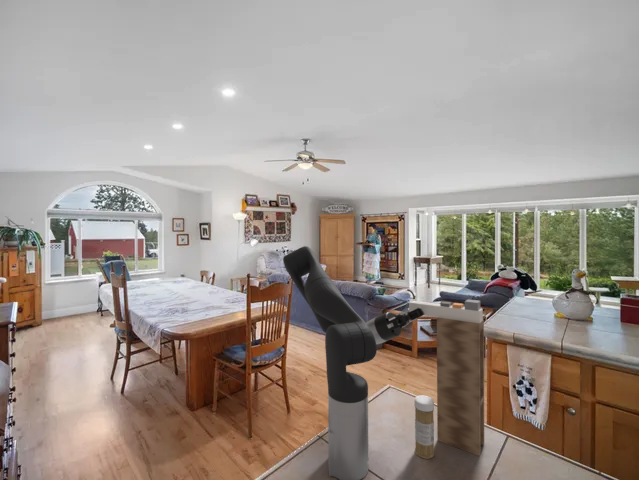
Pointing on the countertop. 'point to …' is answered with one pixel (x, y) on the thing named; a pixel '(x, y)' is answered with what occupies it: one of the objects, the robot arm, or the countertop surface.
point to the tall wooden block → (460, 384)
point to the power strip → (451, 310)
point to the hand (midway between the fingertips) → (427, 308)
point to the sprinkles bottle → (424, 426)
